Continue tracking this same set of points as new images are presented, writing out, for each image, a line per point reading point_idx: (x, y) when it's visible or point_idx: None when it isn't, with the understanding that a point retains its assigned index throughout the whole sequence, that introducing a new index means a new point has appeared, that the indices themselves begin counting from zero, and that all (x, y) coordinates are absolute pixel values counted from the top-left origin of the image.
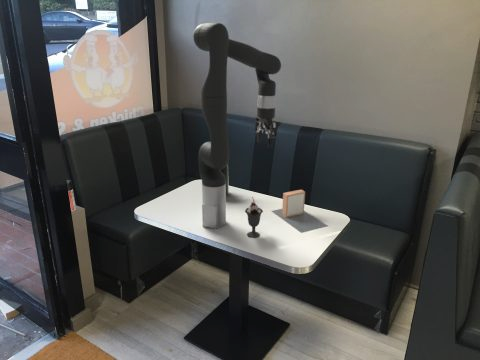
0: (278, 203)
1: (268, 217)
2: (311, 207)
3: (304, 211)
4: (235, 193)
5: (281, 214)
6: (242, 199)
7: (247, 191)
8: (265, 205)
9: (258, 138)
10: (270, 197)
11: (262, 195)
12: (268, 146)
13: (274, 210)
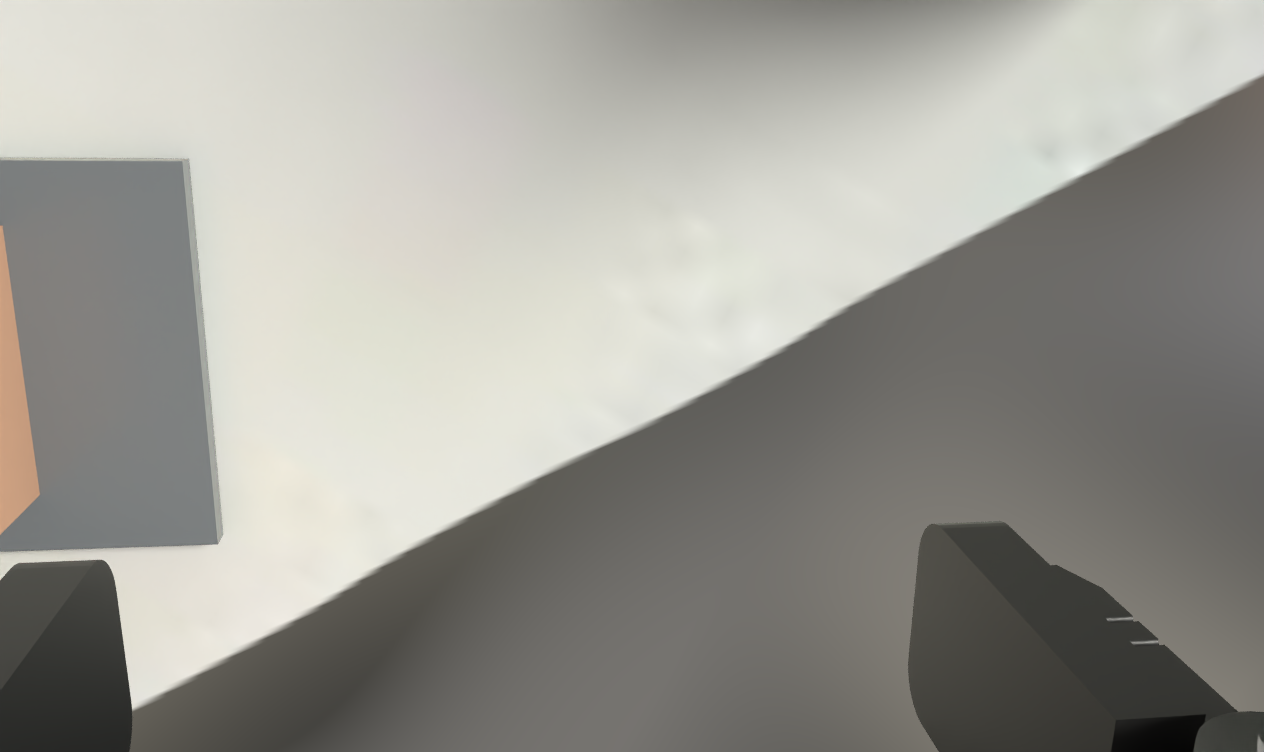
0: (420, 401)
1: (62, 47)
2: (144, 690)
3: (6, 540)
4: (988, 47)
5: (23, 228)
6: (757, 31)
7: (961, 236)
8: (435, 216)
9: (995, 607)
10: (637, 408)
11: (744, 349)
12: (32, 565)
13: (179, 212)
